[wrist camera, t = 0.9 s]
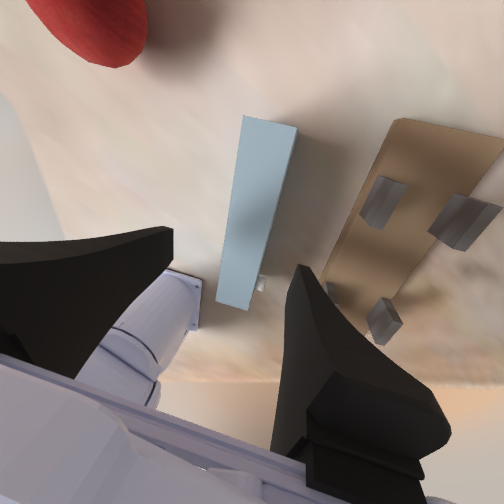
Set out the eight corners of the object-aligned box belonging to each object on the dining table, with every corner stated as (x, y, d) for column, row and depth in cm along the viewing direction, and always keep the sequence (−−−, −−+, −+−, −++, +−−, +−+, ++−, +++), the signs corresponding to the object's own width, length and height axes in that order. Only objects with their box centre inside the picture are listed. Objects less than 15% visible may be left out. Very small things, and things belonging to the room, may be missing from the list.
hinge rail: (355, 331, 24) (366, 368, 20) (302, 315, 24) (303, 348, 20) (489, 140, 14) (565, 139, 10) (393, 120, 14) (429, 111, 10)
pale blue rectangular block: (266, 275, 23) (256, 313, 18) (234, 266, 23) (215, 301, 18) (307, 135, 16) (312, 131, 11) (261, 124, 16) (243, 115, 11)
